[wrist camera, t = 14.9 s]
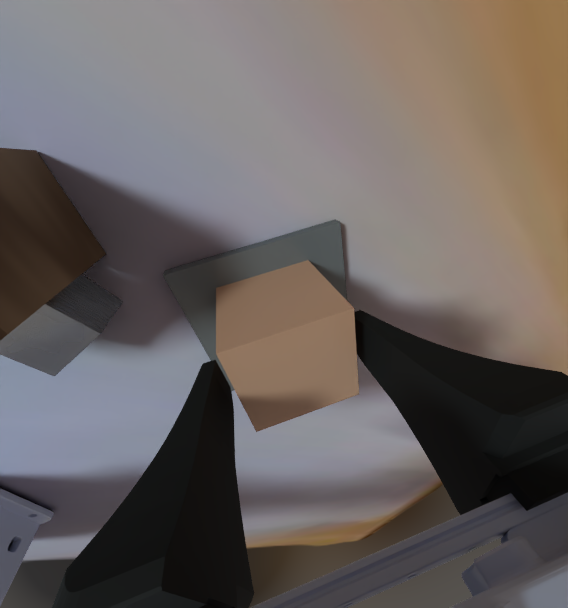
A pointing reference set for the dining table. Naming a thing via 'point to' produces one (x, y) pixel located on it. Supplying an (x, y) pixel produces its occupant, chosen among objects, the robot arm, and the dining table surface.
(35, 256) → the bracket
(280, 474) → the dining table surface
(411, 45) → the dining table surface
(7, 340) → the silver square bar
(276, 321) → the block
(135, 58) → the dining table surface
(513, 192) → the dining table surface
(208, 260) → the coaster
